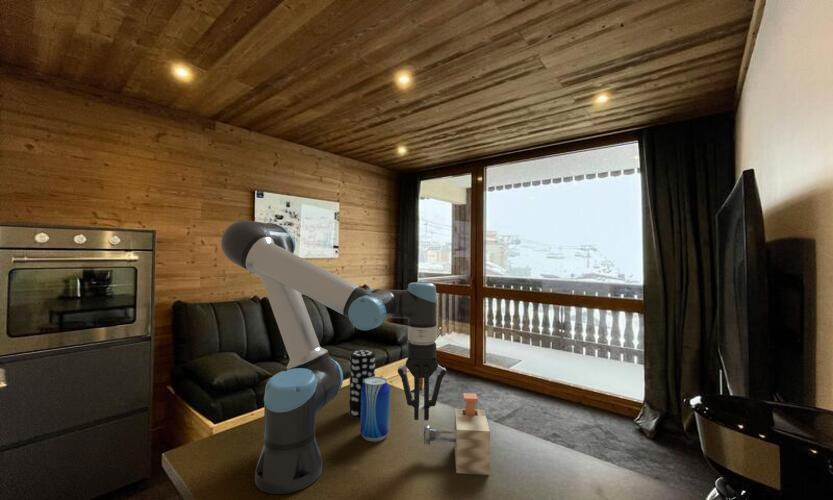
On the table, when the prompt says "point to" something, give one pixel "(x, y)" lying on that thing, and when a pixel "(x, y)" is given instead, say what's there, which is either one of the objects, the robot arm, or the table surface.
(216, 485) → the table surface
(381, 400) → the beer can
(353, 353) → the spotted tube
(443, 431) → the pin
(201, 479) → the table surface
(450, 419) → the table surface
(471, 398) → the plunger
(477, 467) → the block
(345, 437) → the table surface
